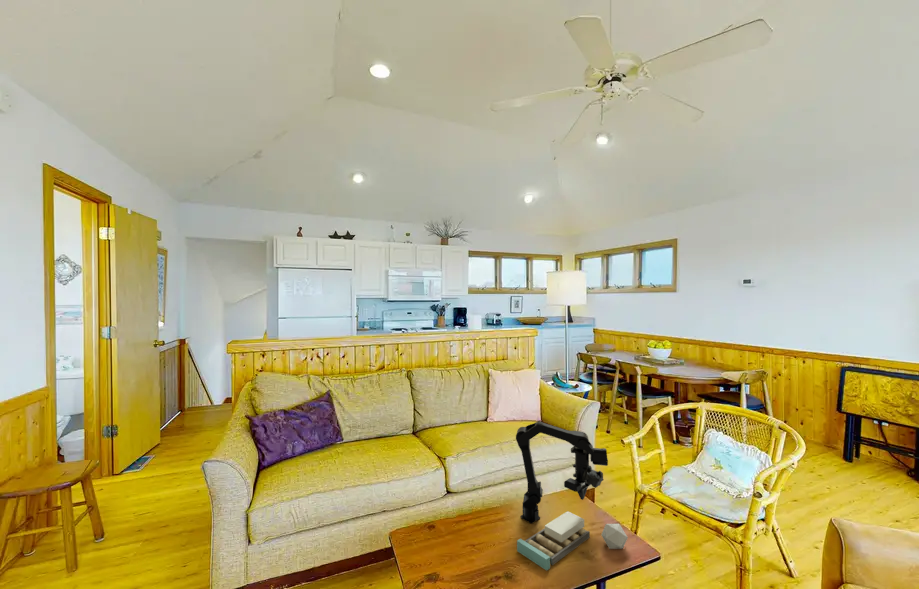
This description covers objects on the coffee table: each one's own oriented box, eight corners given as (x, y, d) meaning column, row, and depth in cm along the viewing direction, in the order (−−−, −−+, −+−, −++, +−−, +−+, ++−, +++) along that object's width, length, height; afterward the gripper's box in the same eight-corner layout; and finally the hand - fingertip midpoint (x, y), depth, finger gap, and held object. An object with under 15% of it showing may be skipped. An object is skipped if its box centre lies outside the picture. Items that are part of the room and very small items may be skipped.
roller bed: (524, 547, 150) (524, 539, 150) (561, 522, 166) (561, 515, 166) (552, 565, 140) (552, 557, 140) (589, 537, 156) (589, 530, 156)
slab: (544, 533, 154) (544, 525, 154) (567, 518, 164) (567, 511, 165) (561, 542, 148) (561, 534, 148) (584, 526, 158) (584, 519, 158)
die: (624, 559, 144) (634, 532, 147) (602, 544, 146) (612, 518, 149) (615, 553, 152) (625, 528, 155) (595, 539, 154) (604, 515, 157)
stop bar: (517, 551, 148) (517, 540, 148) (520, 548, 149) (520, 538, 149) (546, 570, 137) (546, 559, 137) (550, 568, 138) (550, 557, 138)
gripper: (586, 476, 153) (587, 515, 153) (610, 463, 165) (610, 499, 165) (563, 466, 161) (563, 504, 161) (587, 455, 173) (587, 489, 173)
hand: (582, 499), depth 165 cm, fingers closed
